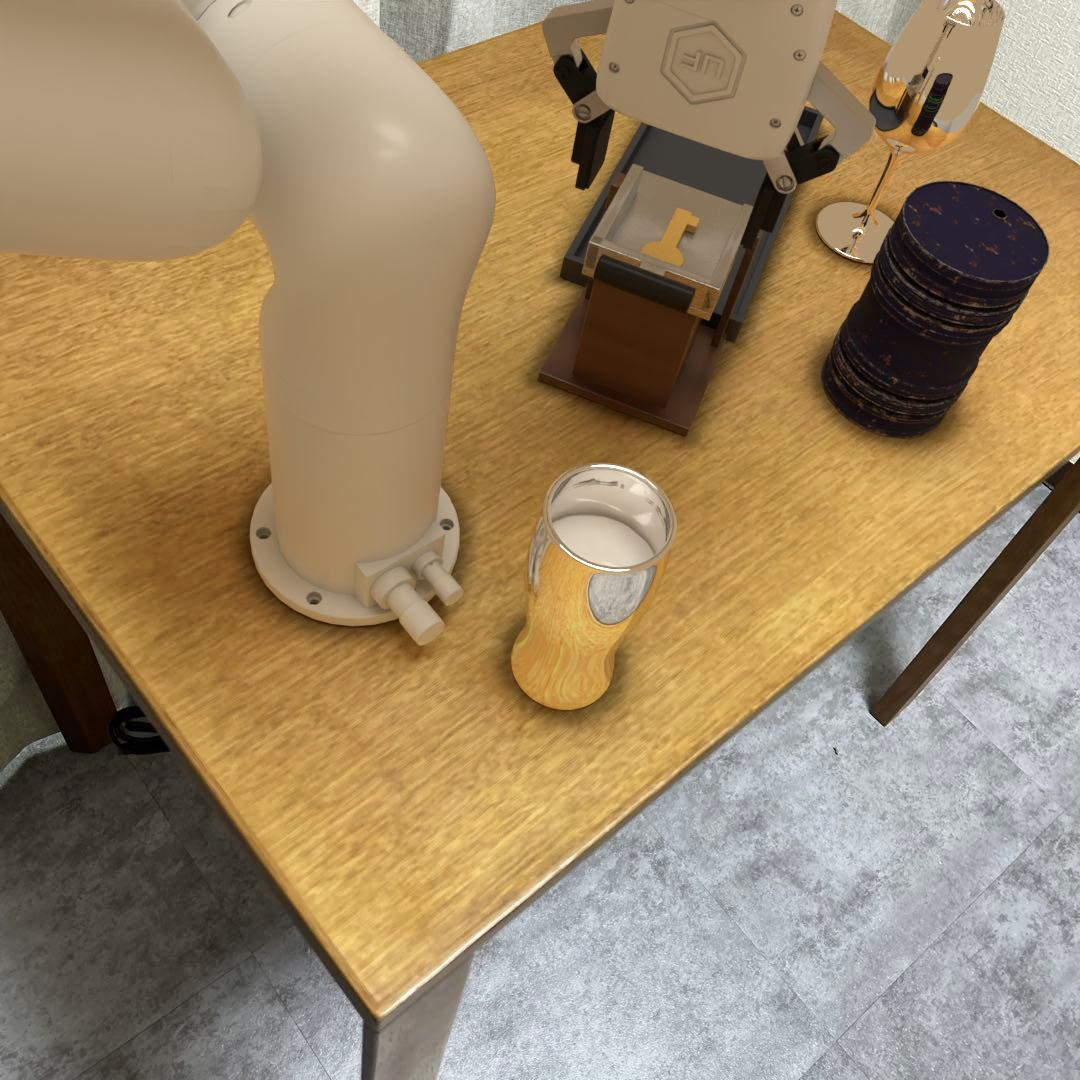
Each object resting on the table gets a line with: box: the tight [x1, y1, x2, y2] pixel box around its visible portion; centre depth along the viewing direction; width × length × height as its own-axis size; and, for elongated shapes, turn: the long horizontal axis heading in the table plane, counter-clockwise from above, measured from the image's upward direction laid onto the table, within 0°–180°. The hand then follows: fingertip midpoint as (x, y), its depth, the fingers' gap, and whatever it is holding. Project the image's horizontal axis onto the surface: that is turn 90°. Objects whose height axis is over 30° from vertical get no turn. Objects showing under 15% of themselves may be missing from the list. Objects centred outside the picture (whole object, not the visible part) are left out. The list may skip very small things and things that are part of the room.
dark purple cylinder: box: [820, 180, 1050, 439], centre depth 77 cm, size 10×10×15 cm
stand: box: [537, 172, 763, 437], centre depth 76 cm, size 10×11×11 cm
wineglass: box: [815, 0, 1006, 265], centre depth 85 cm, size 8×8×20 cm
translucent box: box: [582, 164, 753, 321], centre depth 71 cm, size 14×9×4 cm, turn 159°
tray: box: [559, 105, 825, 343], centre depth 92 cm, size 30×14×2 cm, turn 159°
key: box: [641, 208, 700, 267], centre depth 72 cm, size 7×3×1 cm, turn 159°
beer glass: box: [510, 461, 678, 711], centre depth 59 cm, size 7×7×15 cm
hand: (669, 204), depth 62 cm, fingers open, 9 cm apart
